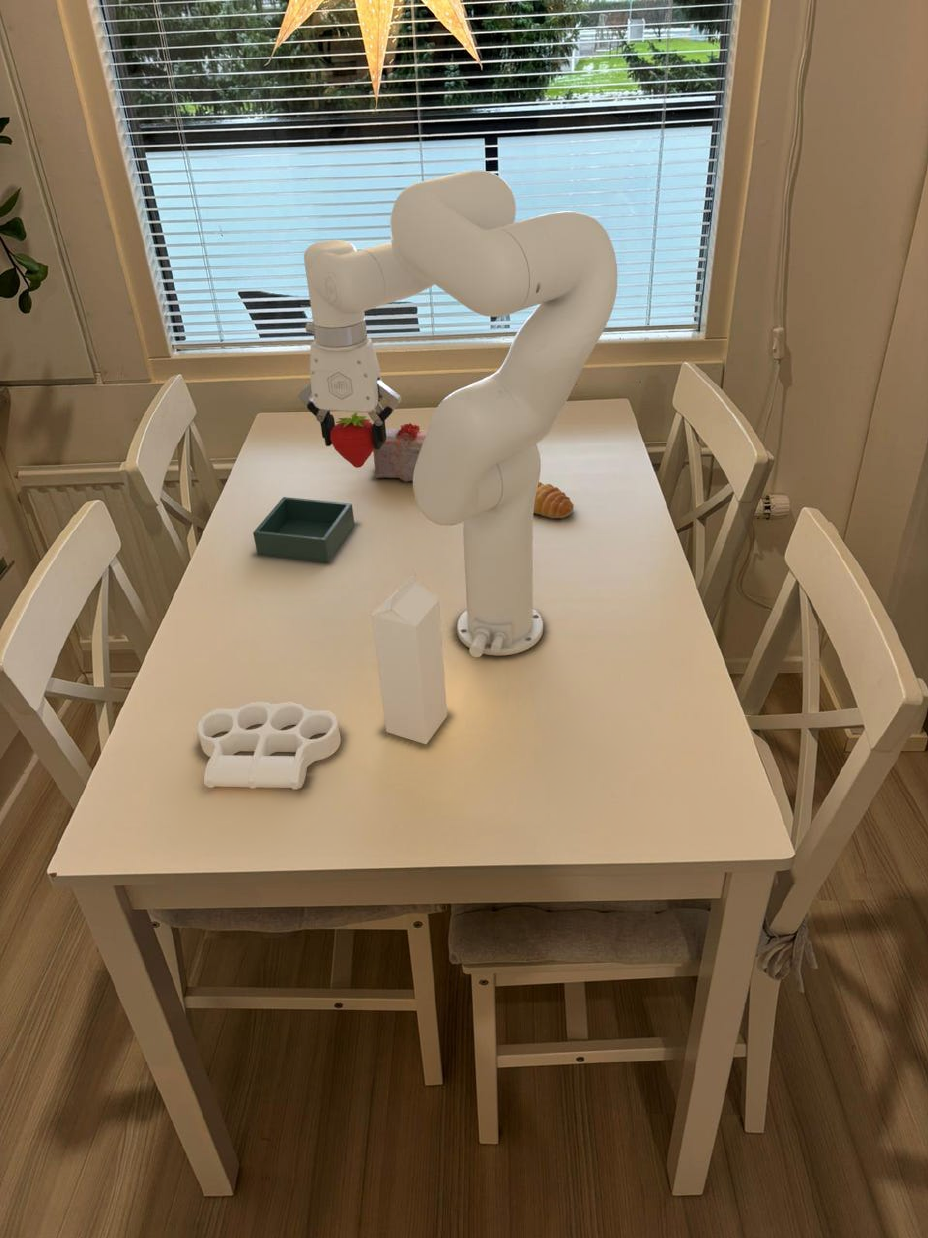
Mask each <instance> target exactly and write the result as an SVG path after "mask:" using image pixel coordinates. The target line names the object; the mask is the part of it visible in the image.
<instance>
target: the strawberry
mask: <svg viewBox="0 0 928 1238" xmlns="http://www.w3.org/2000/svg"><path fill="white" fill-rule="evenodd" d="M358 413H359V412H353V414H352V415H351V417H338V421H335V426H334V427H333V429H332V430H331V432H330V440H331V442H332V444H331V445H332V446H333V448H334V450H335V451H336V452H337V453H338V454H339V456H341V457H342V458H343V459H344V460H346V461H347V462H349V463H350V465H352V467H354V468H356V469H360V468H361V467H363V466H364V464H365V463H366V462H367V460H368V459H369V458H370V456H371V455H372V453H373V450H374V445H373V437H372V428H371V427H372V425H373V424H374V423H372V422H371V420H370V419H367V416H364V415H358Z"/></svg>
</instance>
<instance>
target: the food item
mask: <svg viewBox="0 0 928 1238" xmlns="http://www.w3.org/2000/svg"><path fill="white" fill-rule="evenodd" d="M420 429H421V428H420V426H419V425H417V424H413V423H411V422H409V423H405V424H402V425H400V429H393V428H389V429H387V428H386V441H385V442H384V443H383V445H382V446H381V447H380V449H379V450H378V449H375V448H374V450H373V452H372V453H373V462H374V469H375V471H374V472H375V473H374V474H375V478H376V479H381V478H386V479H387V478H389V479H400V480H401V481H403V482H413V474H414V469H415V465H416V462H417V459H418V456H419V453H420V450H421V447H422V444H423V442H424V439H425V436H426V433H427V430H420Z"/></svg>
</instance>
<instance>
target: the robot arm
mask: <svg viewBox="0 0 928 1238" xmlns="http://www.w3.org/2000/svg"><path fill="white" fill-rule="evenodd" d="M516 203H517V202H516V198H515V195H514V191H513V190H512V188H511V186H510V185H509V184H508V183H507V182H506V180H504V179H503V178H502V177H500V176H499V175H497V174H495V173H493V172H491V171H487V170H479V169H477V170H476V169H474V170H466V171H461V172H457V173H453V174H448V175H443V176H440V177H435V178H431V179H426V180H423V181H418V182H415V183H413V184H410V185H409V186H408V187H406V188H404V190H402V191H401V193H400V194H399V195H398V196H397V197H396V200H395V201H394V203H393V205H392V209H391V212H390V221H389V225H390V233H391V234H390V242H386V243H382V244H381V243H380V244H377V245H374V246H370V247H366V248H362V249H360V250H357V248H356V246H355V245H354V244H353V243H351V242H350V241H346V240H342V239H341V240H340V239H329V240H328V239H327V240H322V241H317V242H314V243H311V244H310V245H308V246H307V248H306V249H305V251H304V253H303V262H304V263H303V264H304V268H305V276H306V283H307V290H308V297H309V304H310V310H311V317H312V322H311V323H310V322H307V323H306V324H305V331H306V333H308V334H309V333H310V334H313V340H314V341H312V342H311V343H310V351H309V374H310V375H309V376H310V383H309V384H308V385H306V386H305V387H304V388H303V389H301V391H299V392H298V393H297V397H298V398H299V399H300V401H301V402H302V403H303V404H304V405H305V406H307V407H306V408H307V410H308V411H309V412H310V413H312V415H313V416H315V417H316V418H315V419H316V422H318V423H320V430H321V437H322V439H324V443H325V446H326V447H330V446H331V445H333V444H332V442H331V440H330V432H331V430H332V429H333V427H334V426H335V425H336V420H335V416H334V414H331V412H345V413H354V412H355V413H357V412H358V413H363V414H364V413H366V414H368V416H369V418H370V419H371V420H372V421H373V423H372V424H373V425H372V427H371V428H372V437H373V445H374V448H375V449H378V450H379V449H380V447H381V446H382V445H383V443H384V442H385V441H386V429H387V428H386V420H387V419H388V418H389V417H390V416H391V414H393V412H394V411H395V409H396V408H397V407H398V405H399V403H400V402H401V401H402V397H401V395H400V394H398V392H396V391H395V390H393V389H392V388H391V387H389V386H388V385H386V383H384V382H383V380H382V375H381V369H380V363H379V359H378V356H377V353H376V349H375V345H374V343H373V340H372V338H371V337H368V332H367V323H366V315H365V312H366V311H369V310H373V309H376V308H379V307H381V306H384V305H387V304H392V303H395V302H398V301H402V300H405V299H408V298H411V297H414V296H416V295H418V294H420V293H422V292H424V291H425V290H428V289H430V288H432V287H434V286H437V287H438V288H439V289H441V290H442V291H443V292H445V293H446V294H448V295H449V296H450V297H452V298H453V299H455V300H456V301H457V302H459V303H460V304H461V305H463V306H464V307H466V308H467V309H468V310H471V311H472V312H474V313H476V314H479V315H482V316H485V317H489V318H499V317H504V316H508V315H512V314H514V313H517V312H520V311H524V310H525V309H526V310H527V309H529V308H532V307H535V306H536V308H534V310H533V311H532V313H531V314H530V315H529V316H528V317H527V318H526V320H525V321H524V323H523V324H522V325H521V326H520V328H519V329H518V330H517V332H516V334H515V336H514V338H513V340H512V342H511V344H510V347H509V350H508V352H507V355H506V356H505V359H504V361H503V363H502V364H501V366H500V367H499V369H498V370H497V371H495V372H494V373H493V374H491V375H489V376H486V377H485V378H483V379H480V380H478V381H476V382H473V383H471V384H468V385H466V386H463V387H461V388H459V389H456V390H454V391H453V392H451V393H450V394H448V395H447V396H446V397H445V398H444V399H442V401H441V402H440V403H439V404H438V406H437V407H436V409H435V410H434V412H433V414H432V417H431V420H430V422H429V425H428V427H427V430H426V431H427V433H426V436H425V439H424V442H423V444H422V447H421V450H420V453H419V456H418V459H417V462H416V465H415V469H414V474H413V481H412V490H413V496H414V499H415V503H416V505H417V507H418V509H419V510H420V512H421V513H422V515H423V516H424V517H425V518H426V519H427V520H429V521H430V522H432V523H434V524H436V525H440V526H445V527H449V526H456V525H459V524H462V523H463V528H462V536H463V537H462V539H463V540H462V541H463V558H464V561H463V562H464V574H465V575H464V579H465V595H466V597H465V599H466V610H465V611H464V612H463V613H462V614H461V615H460V616H459V618H458V620H457V625H456V630H457V635H458V638H459V640H460V641H461V643H462V644H463V645H465V646H466V647H467V648H468V649H469V650H468V651H469V654H470V656H472V657H474V658H481V657H482V656H483V655H486V656H487V655H488V656H510V655H511V656H512V655H515V654H519V653H522V652H525V651H527V650H529V649H530V648H532V647H534V646H535V645H536V644H537V643H538V642H539V641H540V639H541V638H542V636H543V632H544V620H543V618H542V616H541V614H540V613H539V611H537V610H536V609H535V608H534V605H533V603H534V601H533V600H534V599H533V598H534V597H533V596H534V595H533V594H534V593H533V589H534V588H533V587H534V586H533V581H534V580H533V579H534V576H533V573H534V572H533V571H534V570H533V569H534V567H533V566H534V565H533V562H534V561H533V558H534V557H533V555H534V554H533V551H534V549H533V548H534V547H533V546H534V544H533V541H534V513H533V512H534V503H535V497H536V492H537V488H538V483H539V482H540V479H541V478H540V477H541V470H542V464H541V462H542V461H541V455H540V454H541V453H540V450H539V447H538V445H537V444H539V443H541V441H543V440H545V439H546V437H548V435H549V434H550V433H551V431H552V429H553V428H554V426H555V424H556V422H557V421H558V419H559V417H560V415H561V412H562V411H563V409H564V407H565V405H566V402H567V401H568V399H569V397H570V395H571V393H572V391H573V389H574V387H575V386H576V383H577V380H578V379H579V376H580V374H581V372H582V370H583V368H584V366H585V365H586V363H587V361H588V359H589V357H590V356H591V354H592V352H593V351H594V349H595V347H596V345H597V343H598V342H599V340H600V338H601V336H602V334H603V332H604V331H605V329H606V327H607V324H608V322H609V320H610V319H611V315H612V312H613V309H614V306H615V302H616V297H617V289H618V266H617V259H616V258H617V257H616V254H615V250H614V246H613V244H612V240H611V238H610V236H609V234H608V231H607V230H606V229H605V228H604V226H603V225H602V224H601V223H600V222H599V221H598V220H597V219H596V218H595V217H593V216H591V215H589V214H587V213H583V212H580V211H572V210H567V211H563V210H562V211H555V212H549V213H544V214H540V215H536V216H533V217H529V218H526V219H522V220H518V221H515V220H516V216H517V215H516V214H517V204H516ZM383 399H385V400H386V401H387V402H388V403H387V404H386V406H385V407H383V406H382V404H381V401H383Z"/></svg>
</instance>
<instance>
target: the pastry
mask: <svg viewBox="0 0 928 1238" xmlns="http://www.w3.org/2000/svg"><path fill="white" fill-rule="evenodd" d="M574 507H575V506H574V503H573V502H572V501H571V498H570V497H568V496H567V495H566V493H565V492H563V491H562V490H561V489H559V488H558V487H557V486H553V484H550V483H546V484H544V483H542V482H541V481H539V483H538V488H537V492H536V497H535V503H534V512H533V514H537V515H540V516H542V517H546V518H550V519H564V518H566V517H568V516H570V515H571V514H572V513H573V510H574Z"/></svg>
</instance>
